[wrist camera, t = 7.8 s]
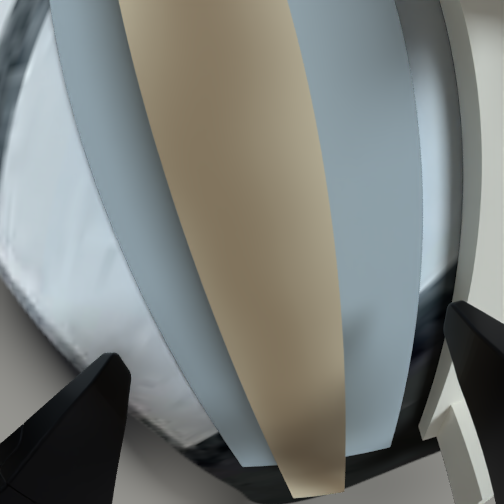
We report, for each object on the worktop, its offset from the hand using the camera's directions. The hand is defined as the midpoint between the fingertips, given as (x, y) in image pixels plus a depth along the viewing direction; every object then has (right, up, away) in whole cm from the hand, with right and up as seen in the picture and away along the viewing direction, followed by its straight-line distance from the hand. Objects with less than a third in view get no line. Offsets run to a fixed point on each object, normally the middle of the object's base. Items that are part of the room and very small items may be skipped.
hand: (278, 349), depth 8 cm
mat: (0, +2, +3) cm, 4 cm away
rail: (0, +2, +3) cm, 3 cm away
